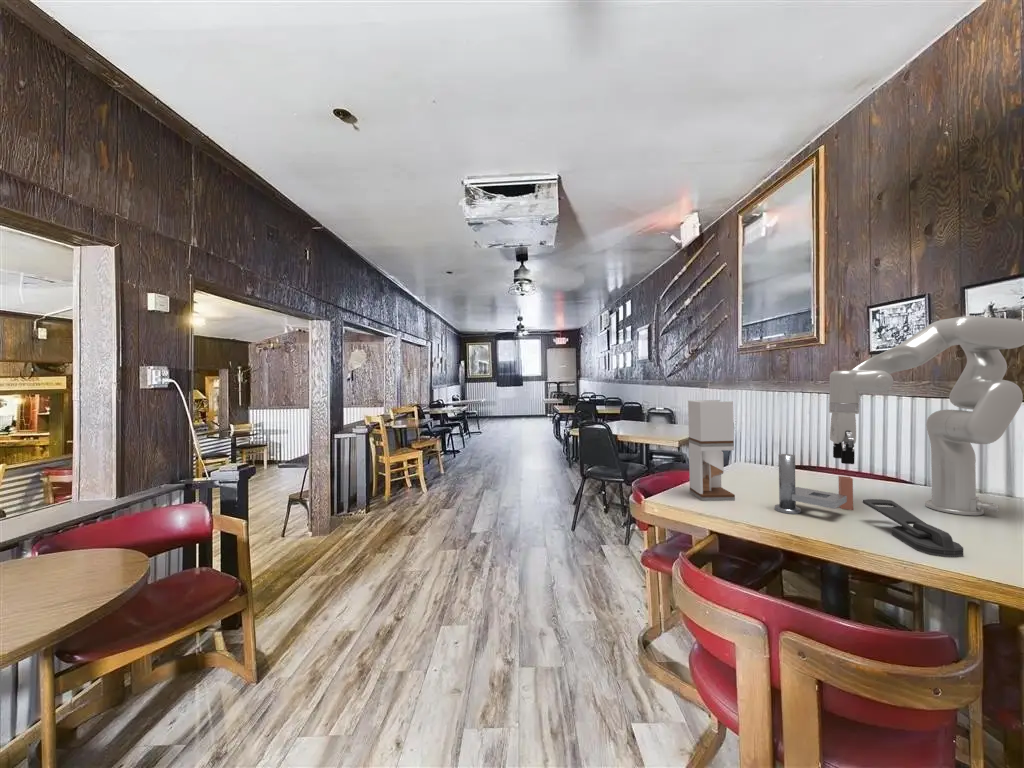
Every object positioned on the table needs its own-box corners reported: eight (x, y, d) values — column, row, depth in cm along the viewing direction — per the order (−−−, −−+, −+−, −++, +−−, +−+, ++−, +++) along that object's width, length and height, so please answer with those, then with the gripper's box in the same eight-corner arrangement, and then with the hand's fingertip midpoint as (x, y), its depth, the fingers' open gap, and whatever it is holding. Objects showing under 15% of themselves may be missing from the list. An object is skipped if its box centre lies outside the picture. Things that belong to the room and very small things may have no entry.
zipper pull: (892, 499, 119) (971, 530, 95) (893, 521, 120) (972, 558, 95) (858, 498, 121) (927, 528, 97) (858, 520, 121) (927, 556, 97)
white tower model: (701, 500, 143) (700, 402, 143) (689, 492, 154) (688, 400, 154) (734, 500, 143) (733, 401, 142) (720, 492, 153) (718, 399, 153)
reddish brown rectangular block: (838, 506, 134) (838, 476, 134) (850, 507, 133) (849, 476, 133) (841, 508, 132) (840, 478, 131) (853, 510, 130) (852, 478, 130)
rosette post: (846, 514, 126) (845, 457, 126) (832, 524, 118) (831, 462, 118) (787, 502, 139) (786, 450, 139) (770, 510, 132) (769, 455, 132)
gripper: (823, 406, 141) (822, 455, 142) (836, 409, 126) (836, 464, 126) (850, 407, 138) (850, 457, 138) (867, 410, 122) (867, 467, 123)
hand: (843, 460), depth 132 cm, fingers open, 9 cm apart
